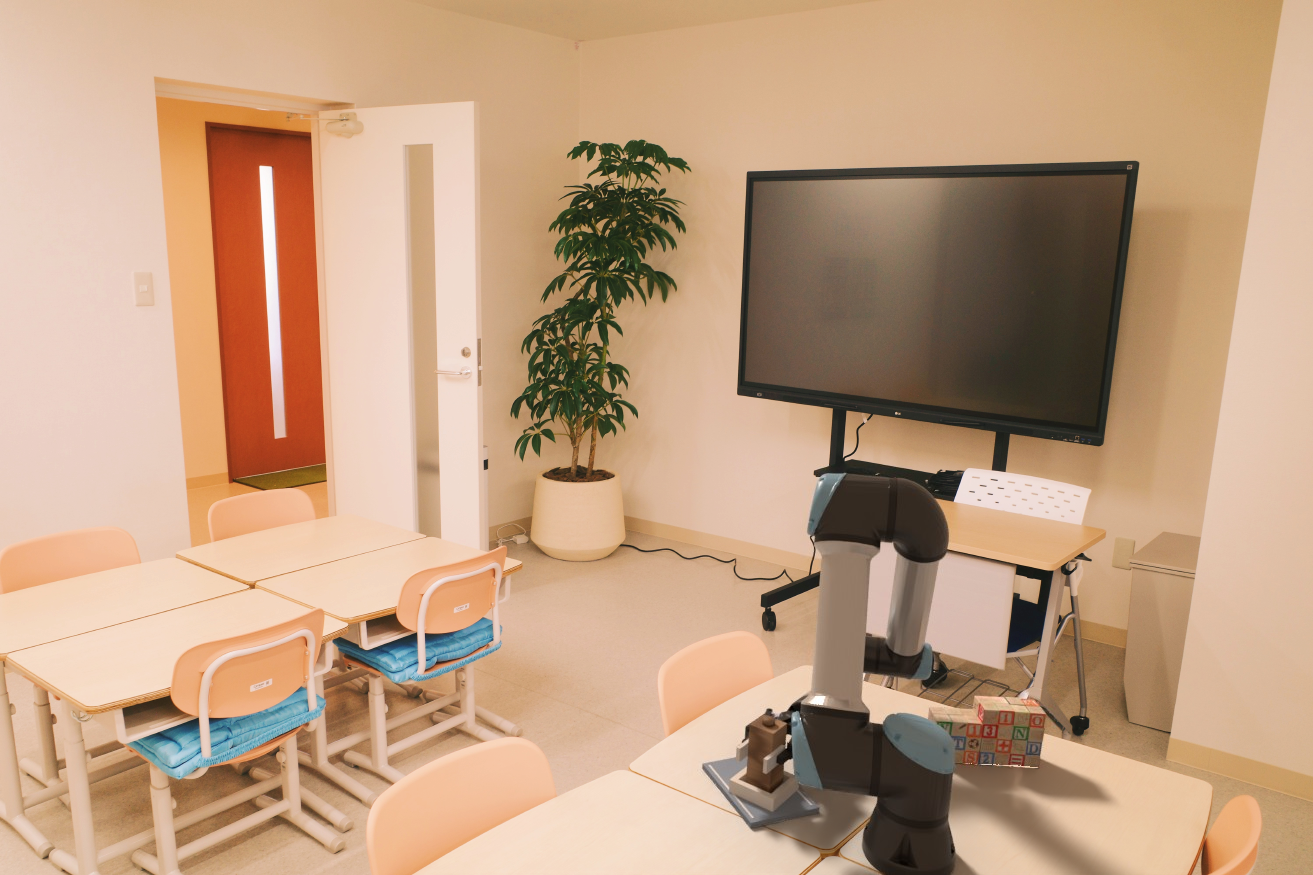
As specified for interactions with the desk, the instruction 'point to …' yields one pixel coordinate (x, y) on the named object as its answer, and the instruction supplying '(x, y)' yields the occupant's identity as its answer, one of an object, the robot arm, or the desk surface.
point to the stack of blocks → (994, 730)
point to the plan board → (749, 811)
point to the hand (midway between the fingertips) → (751, 760)
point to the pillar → (765, 752)
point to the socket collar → (760, 796)
